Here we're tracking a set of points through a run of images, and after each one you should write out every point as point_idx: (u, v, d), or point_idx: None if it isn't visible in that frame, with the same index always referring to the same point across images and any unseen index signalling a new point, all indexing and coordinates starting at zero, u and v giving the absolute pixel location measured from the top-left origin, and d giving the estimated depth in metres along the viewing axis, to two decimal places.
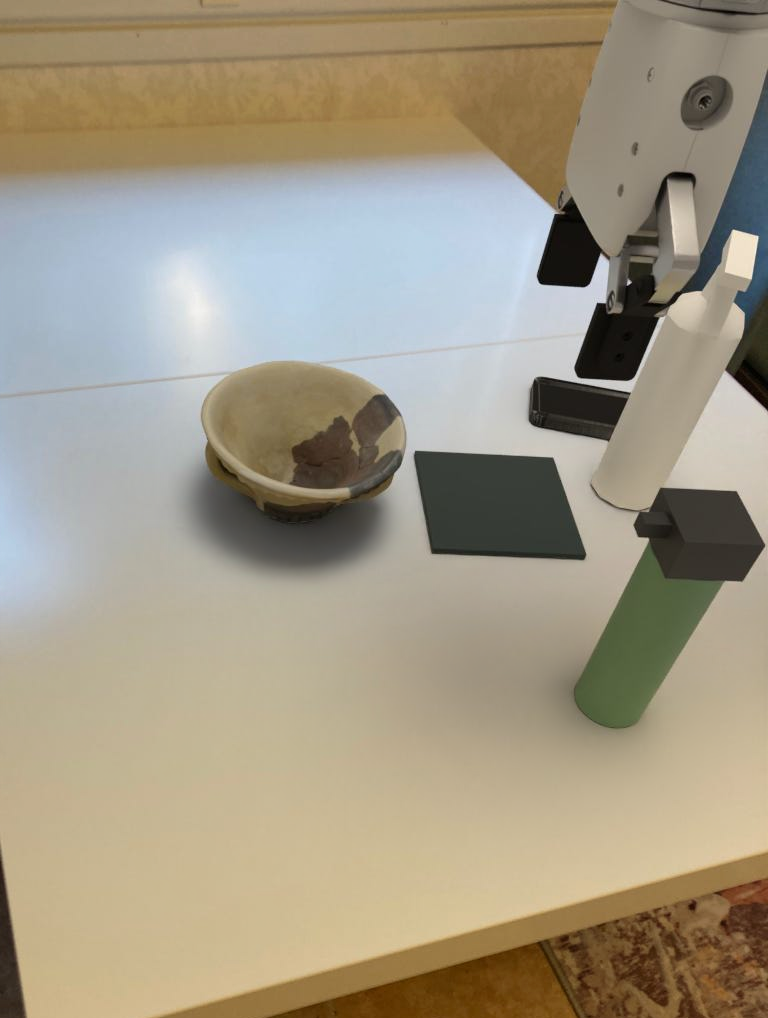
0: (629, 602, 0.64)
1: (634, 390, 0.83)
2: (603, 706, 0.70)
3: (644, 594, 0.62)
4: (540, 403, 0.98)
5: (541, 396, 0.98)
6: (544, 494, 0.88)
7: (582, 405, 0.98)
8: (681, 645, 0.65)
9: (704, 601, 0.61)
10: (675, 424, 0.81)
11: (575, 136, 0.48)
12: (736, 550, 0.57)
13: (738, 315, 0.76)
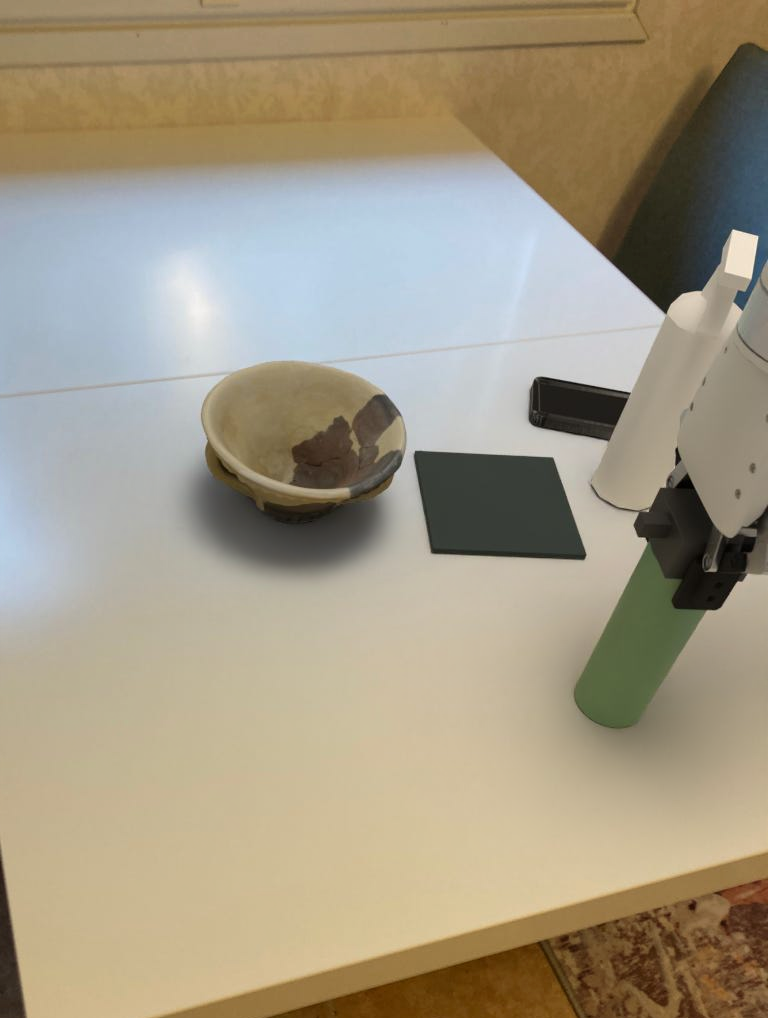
0: (629, 602, 0.64)
1: (634, 390, 0.83)
2: (603, 706, 0.70)
3: (644, 594, 0.62)
4: (540, 403, 0.98)
5: (541, 396, 0.98)
6: (544, 494, 0.88)
7: (582, 405, 0.98)
8: (681, 645, 0.65)
9: None
10: (675, 424, 0.81)
11: (688, 418, 0.58)
12: (736, 550, 0.57)
13: (738, 315, 0.76)
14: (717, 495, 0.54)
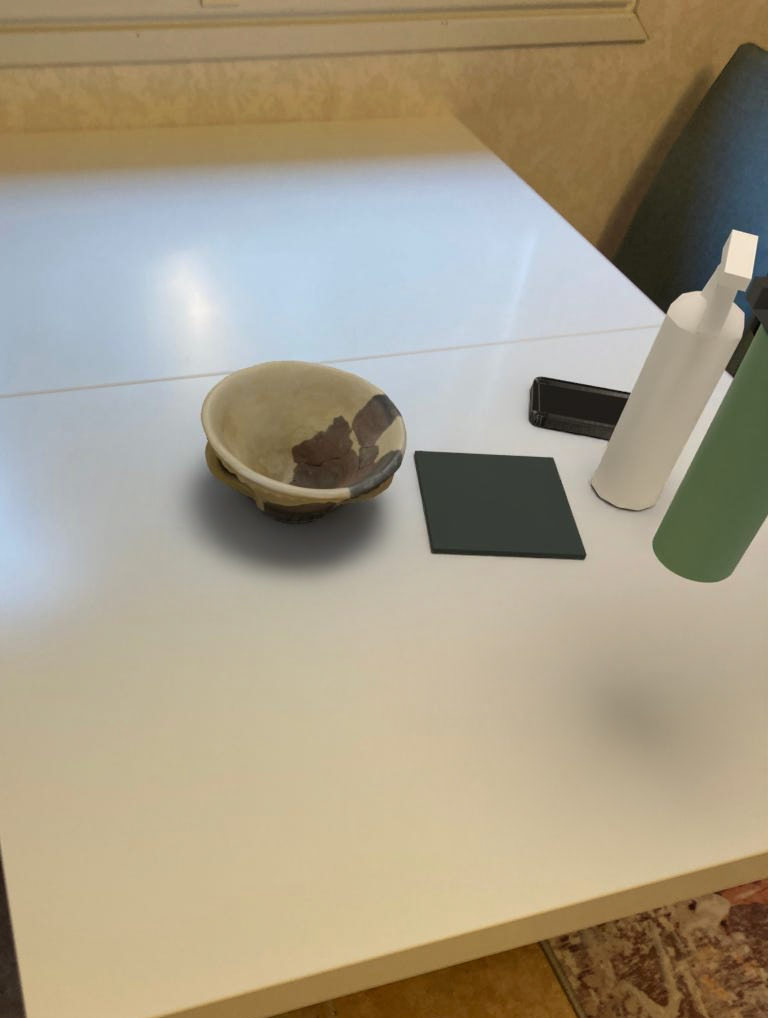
0: (732, 409, 0.52)
1: (634, 390, 0.83)
2: (691, 553, 0.58)
3: (754, 393, 0.50)
4: (540, 403, 0.98)
5: (541, 396, 0.98)
6: (544, 494, 0.88)
7: (582, 405, 0.98)
8: None
9: None
10: (675, 424, 0.81)
11: None
12: None
13: (738, 315, 0.76)
14: None
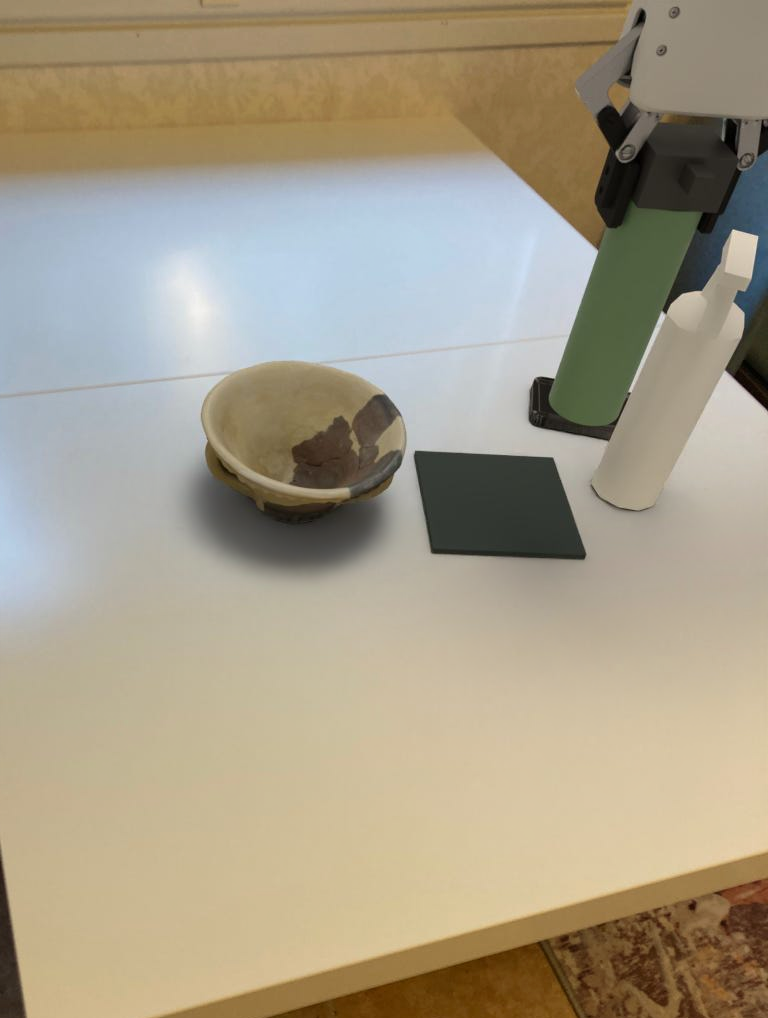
0: (656, 280, 0.61)
1: (634, 390, 0.83)
2: (625, 396, 0.69)
3: (676, 255, 0.60)
4: (540, 403, 0.98)
5: (541, 396, 0.98)
6: (544, 494, 0.88)
7: None
8: None
9: None
10: (675, 424, 0.81)
11: (661, 65, 0.52)
12: None
13: (738, 315, 0.76)
14: (766, 87, 0.53)
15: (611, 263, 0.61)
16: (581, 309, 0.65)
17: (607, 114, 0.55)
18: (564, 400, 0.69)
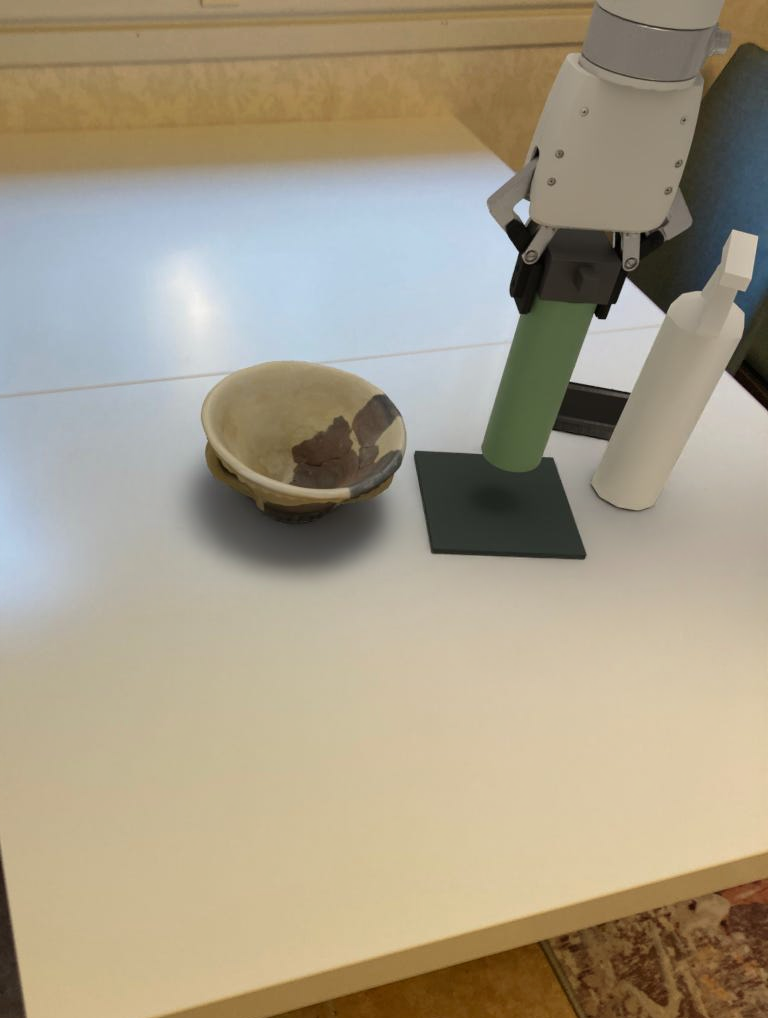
0: (561, 356, 0.73)
1: (634, 390, 0.83)
2: (544, 447, 0.81)
3: (576, 336, 0.72)
4: None
5: None
6: (544, 494, 0.88)
7: (582, 405, 0.98)
8: None
9: None
10: (675, 424, 0.81)
11: (551, 192, 0.64)
12: None
13: (738, 315, 0.76)
14: (639, 210, 0.65)
15: (524, 341, 0.73)
16: (503, 376, 0.77)
17: (513, 226, 0.67)
18: (492, 450, 0.81)
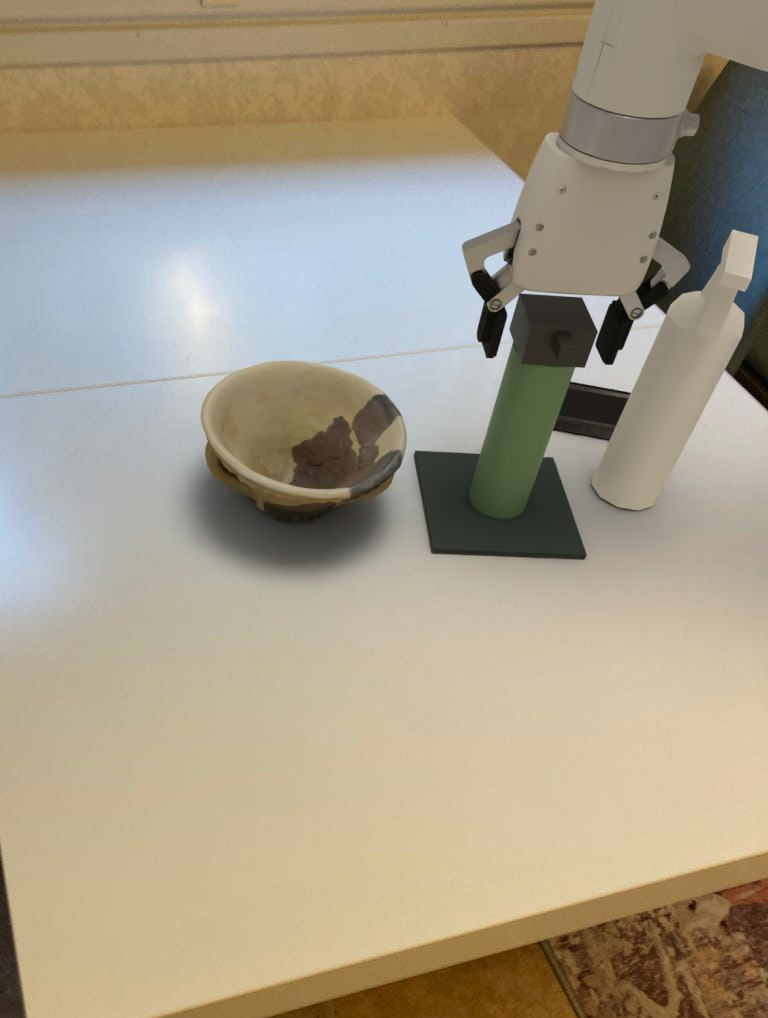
0: (542, 414, 0.77)
1: (634, 390, 0.83)
2: (528, 496, 0.85)
3: (556, 396, 0.76)
4: None
5: None
6: (544, 494, 0.88)
7: (582, 405, 0.98)
8: None
9: None
10: (675, 424, 0.81)
11: (533, 261, 0.67)
12: None
13: (738, 315, 0.76)
14: (616, 276, 0.68)
15: (507, 399, 0.77)
16: (488, 430, 0.81)
17: (477, 277, 0.70)
18: (479, 498, 0.85)
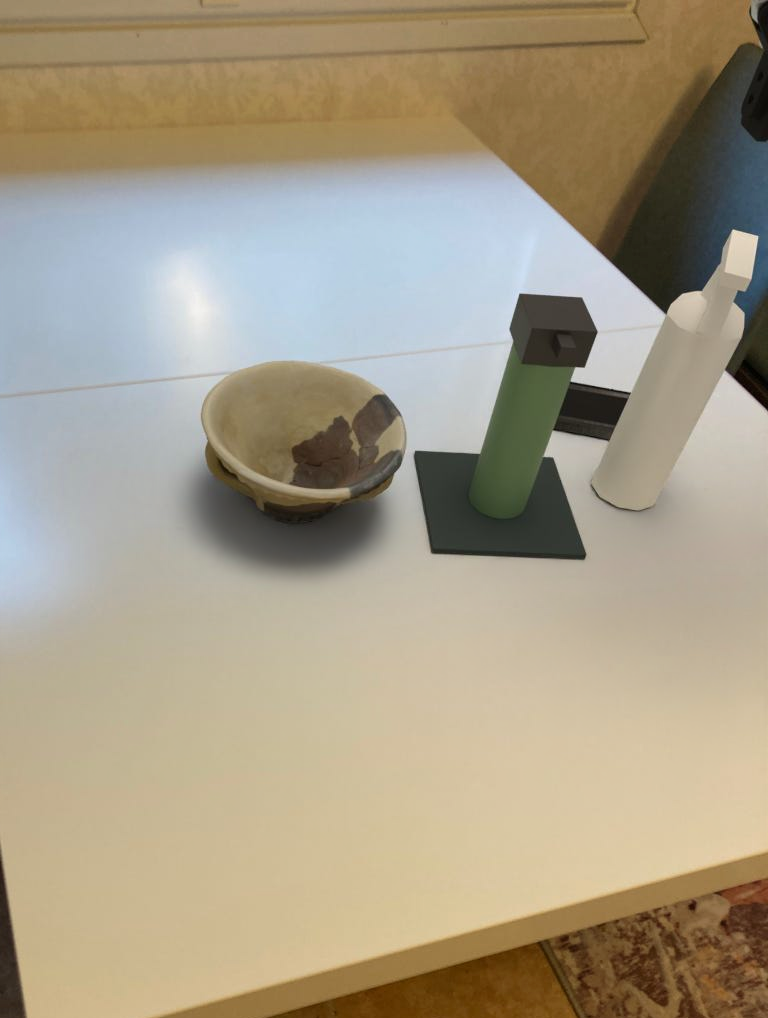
0: (542, 414, 0.77)
1: (634, 390, 0.83)
2: (528, 496, 0.85)
3: (556, 396, 0.76)
4: None
5: None
6: (544, 494, 0.88)
7: (582, 405, 0.98)
8: None
9: None
10: (675, 424, 0.81)
11: None
12: None
13: (738, 315, 0.76)
14: None
15: (507, 399, 0.77)
16: (488, 430, 0.81)
17: None
18: (479, 498, 0.85)
